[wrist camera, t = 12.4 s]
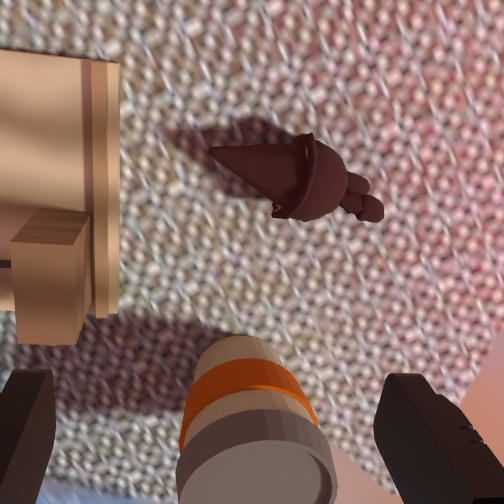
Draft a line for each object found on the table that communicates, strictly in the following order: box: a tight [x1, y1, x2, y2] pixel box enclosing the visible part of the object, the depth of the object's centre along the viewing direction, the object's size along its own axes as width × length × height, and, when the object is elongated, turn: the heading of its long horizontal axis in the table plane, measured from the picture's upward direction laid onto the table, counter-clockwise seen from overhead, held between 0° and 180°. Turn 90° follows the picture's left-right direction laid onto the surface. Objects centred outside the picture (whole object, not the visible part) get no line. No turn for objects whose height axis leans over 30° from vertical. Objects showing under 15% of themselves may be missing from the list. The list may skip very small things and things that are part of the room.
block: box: [10, 209, 92, 346], centre depth 36 cm, size 9×4×7 cm, turn 173°
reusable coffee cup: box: [175, 335, 338, 504], centre depth 42 cm, size 12×13×15 cm
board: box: [0, 49, 120, 318], centre depth 37 cm, size 21×14×2 cm, turn 173°
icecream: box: [208, 133, 384, 223], centre depth 37 cm, size 7×7×15 cm
